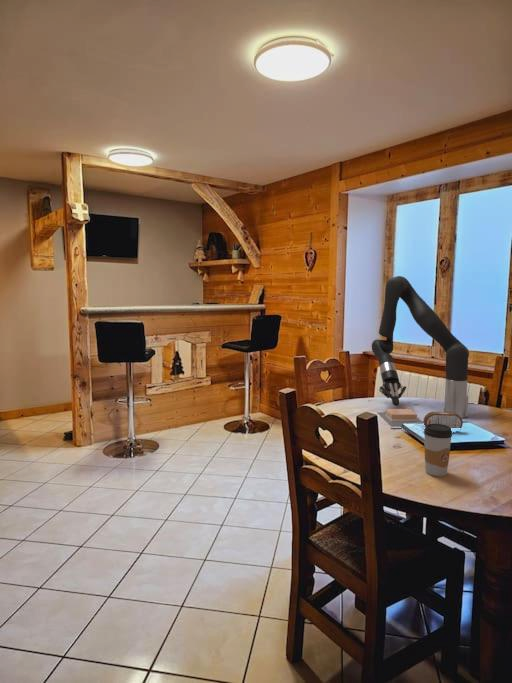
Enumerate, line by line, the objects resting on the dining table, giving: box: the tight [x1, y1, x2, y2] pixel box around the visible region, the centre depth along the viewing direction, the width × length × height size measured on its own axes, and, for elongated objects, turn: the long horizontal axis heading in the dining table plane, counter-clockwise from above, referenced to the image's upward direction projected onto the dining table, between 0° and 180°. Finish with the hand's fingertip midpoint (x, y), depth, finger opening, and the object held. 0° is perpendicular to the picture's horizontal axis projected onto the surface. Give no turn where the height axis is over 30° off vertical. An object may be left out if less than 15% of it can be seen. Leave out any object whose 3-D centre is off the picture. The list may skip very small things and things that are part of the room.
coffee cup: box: [423, 424, 453, 477], centre depth 140 cm, size 8×8×15 cm
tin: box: [423, 411, 464, 429], centre depth 182 cm, size 15×3×8 cm, turn 84°
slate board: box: [376, 411, 424, 430], centre depth 197 cm, size 16×22×1 cm
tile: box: [385, 408, 418, 421], centre depth 197 cm, size 11×3×9 cm
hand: (396, 404), depth 203 cm, fingers closed
